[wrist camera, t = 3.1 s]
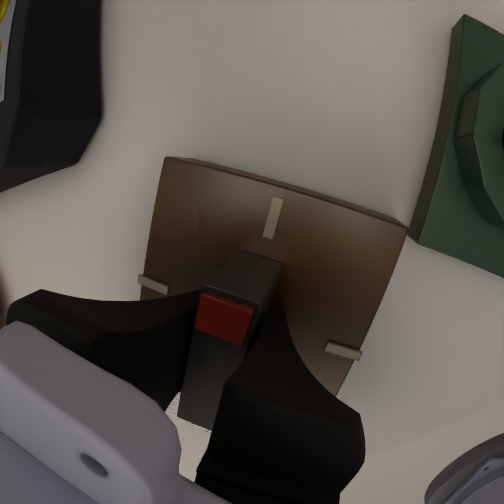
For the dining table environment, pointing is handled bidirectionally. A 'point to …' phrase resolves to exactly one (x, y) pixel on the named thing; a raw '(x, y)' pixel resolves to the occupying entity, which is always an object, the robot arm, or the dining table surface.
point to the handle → (224, 331)
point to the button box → (467, 155)
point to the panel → (276, 253)
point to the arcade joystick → (47, 85)
